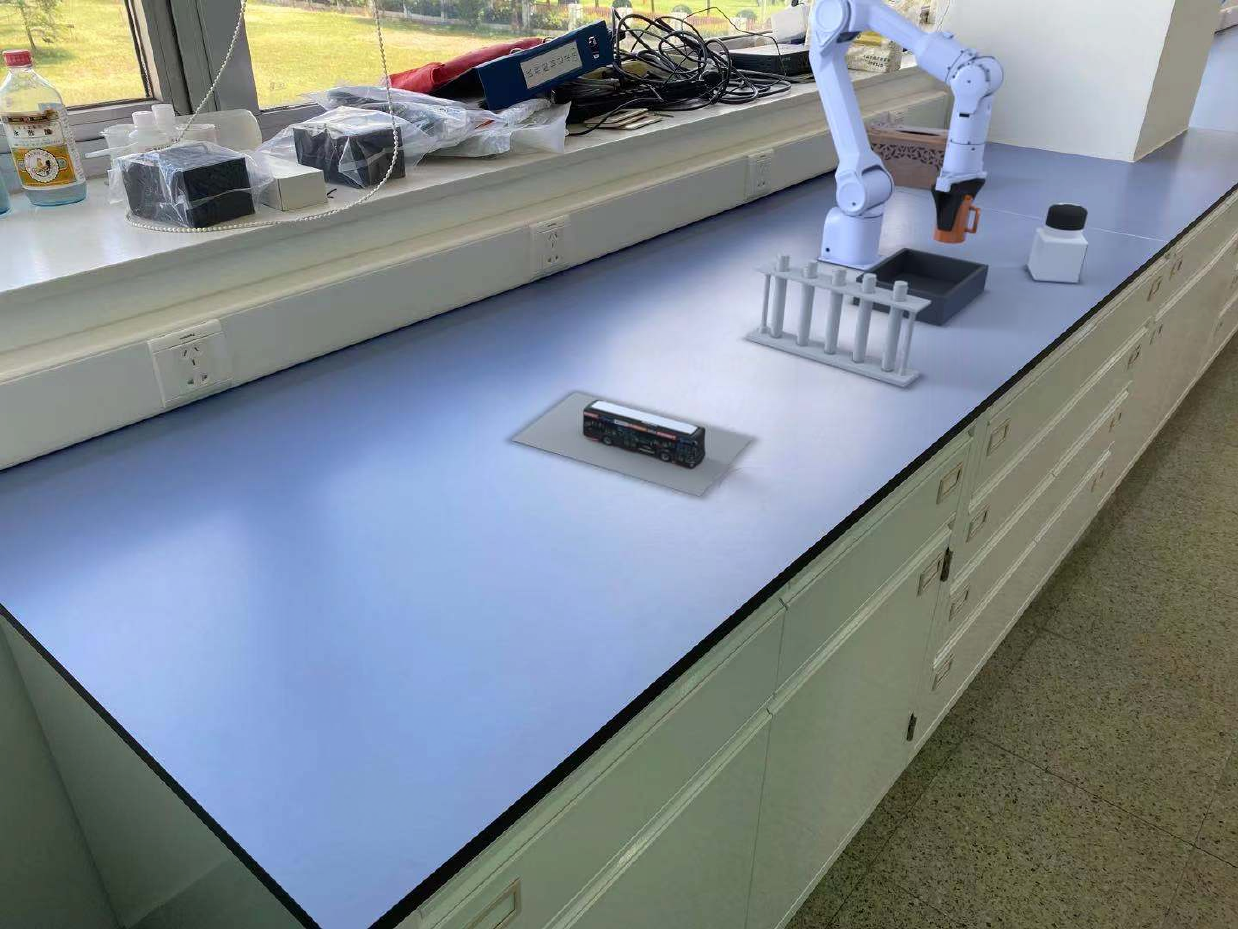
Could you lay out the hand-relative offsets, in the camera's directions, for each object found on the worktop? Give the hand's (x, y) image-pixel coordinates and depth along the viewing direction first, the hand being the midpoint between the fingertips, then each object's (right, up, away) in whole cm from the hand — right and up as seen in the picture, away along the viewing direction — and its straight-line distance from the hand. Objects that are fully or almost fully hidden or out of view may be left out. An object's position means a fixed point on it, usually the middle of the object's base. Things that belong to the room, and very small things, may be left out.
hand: (950, 226), depth 157 cm
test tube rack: (-25, -24, -21) cm, 40 cm away
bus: (-53, -36, -41) cm, 76 cm away
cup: (0, -2, +1) cm, 2 cm away
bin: (-6, -12, -1) cm, 13 cm away
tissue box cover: (+13, +26, +62) cm, 69 cm away
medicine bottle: (+20, -7, +8) cm, 23 cm away
